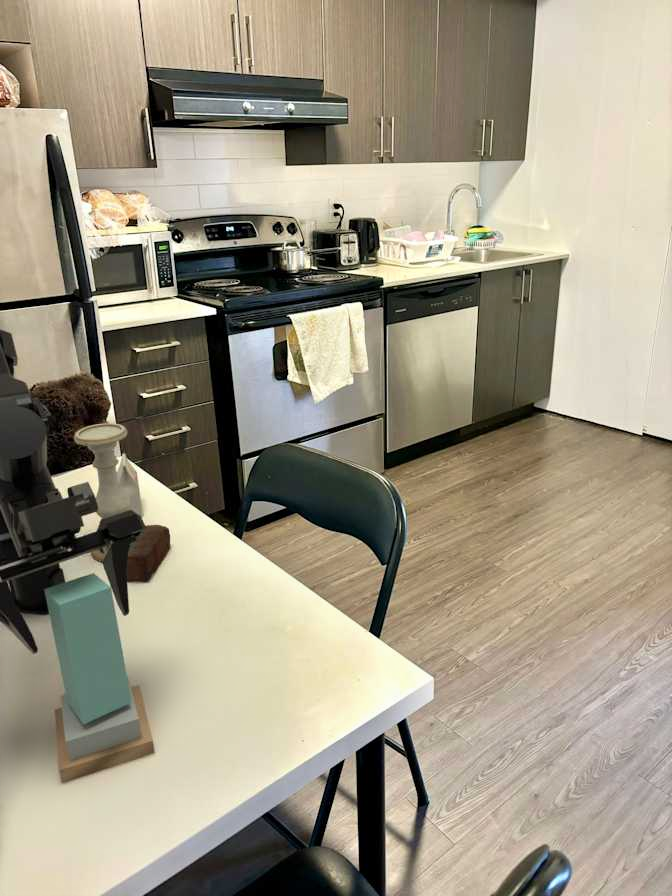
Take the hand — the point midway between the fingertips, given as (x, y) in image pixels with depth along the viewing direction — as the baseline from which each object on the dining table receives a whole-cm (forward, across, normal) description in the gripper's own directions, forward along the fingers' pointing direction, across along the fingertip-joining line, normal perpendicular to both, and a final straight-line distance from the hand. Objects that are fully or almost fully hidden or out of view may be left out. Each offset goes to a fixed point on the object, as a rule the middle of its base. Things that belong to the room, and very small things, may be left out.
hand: (83, 632), depth 68 cm
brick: (-11, +19, +30) cm, 37 cm away
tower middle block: (+9, 0, +7) cm, 11 cm away
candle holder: (-16, +17, +35) cm, 42 cm away
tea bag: (-24, +24, +44) cm, 56 cm away
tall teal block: (+6, 0, +5) cm, 8 cm away
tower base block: (+10, 0, +9) cm, 14 cm away
